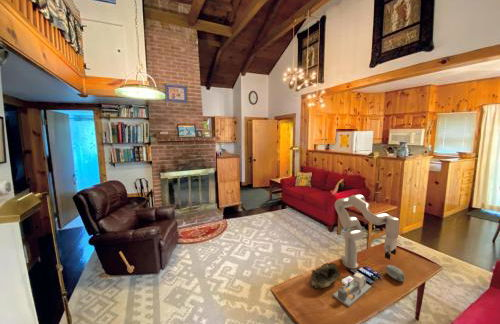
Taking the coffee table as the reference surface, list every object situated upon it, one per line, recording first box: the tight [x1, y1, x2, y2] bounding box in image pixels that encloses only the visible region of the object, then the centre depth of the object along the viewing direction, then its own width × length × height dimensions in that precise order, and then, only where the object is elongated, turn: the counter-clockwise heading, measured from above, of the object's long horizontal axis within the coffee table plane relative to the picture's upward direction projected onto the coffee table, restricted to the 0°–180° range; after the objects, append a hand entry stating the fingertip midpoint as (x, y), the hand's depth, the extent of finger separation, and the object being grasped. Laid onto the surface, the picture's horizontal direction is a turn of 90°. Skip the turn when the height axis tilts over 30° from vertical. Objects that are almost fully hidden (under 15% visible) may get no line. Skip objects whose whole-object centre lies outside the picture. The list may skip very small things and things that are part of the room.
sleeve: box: [353, 272, 365, 288], centre depth 153 cm, size 5×5×8 cm
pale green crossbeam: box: [345, 281, 359, 294], centre depth 149 cm, size 2×26×2 cm, turn 124°
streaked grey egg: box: [385, 264, 406, 282], centre depth 163 cm, size 14×10×10 cm
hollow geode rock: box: [308, 262, 341, 290], centre depth 160 cm, size 28×13×15 cm
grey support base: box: [332, 277, 372, 308], centre depth 149 cm, size 12×30×8 cm, turn 124°
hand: (390, 256), depth 147 cm, fingers open, 9 cm apart
